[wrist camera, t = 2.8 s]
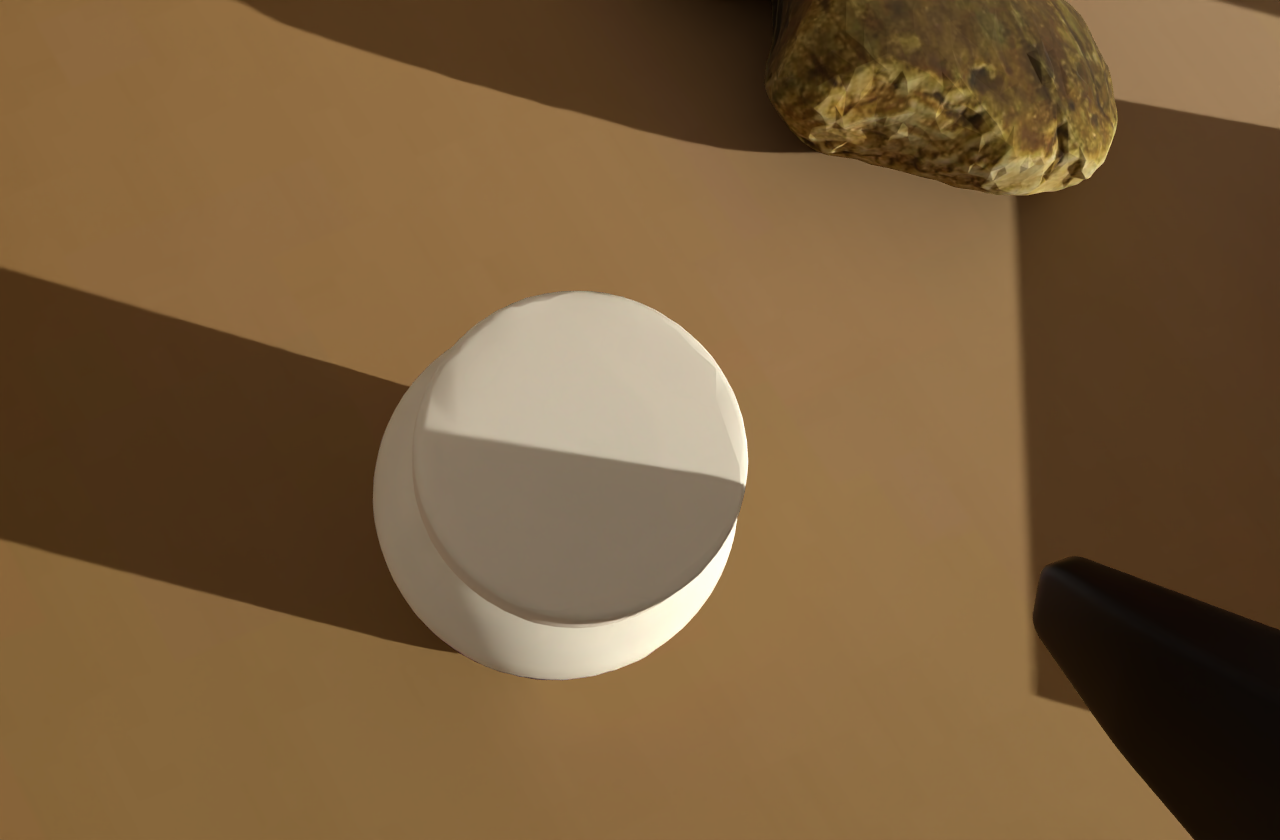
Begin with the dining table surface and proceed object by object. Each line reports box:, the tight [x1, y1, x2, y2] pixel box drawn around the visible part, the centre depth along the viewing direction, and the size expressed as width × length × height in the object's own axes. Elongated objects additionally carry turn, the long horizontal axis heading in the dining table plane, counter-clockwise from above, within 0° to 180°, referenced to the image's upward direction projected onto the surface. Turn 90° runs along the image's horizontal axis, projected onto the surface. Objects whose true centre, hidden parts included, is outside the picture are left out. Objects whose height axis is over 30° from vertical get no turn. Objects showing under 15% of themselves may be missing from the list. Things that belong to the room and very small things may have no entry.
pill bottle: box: [373, 291, 748, 680], centre depth 15 cm, size 5×5×10 cm
